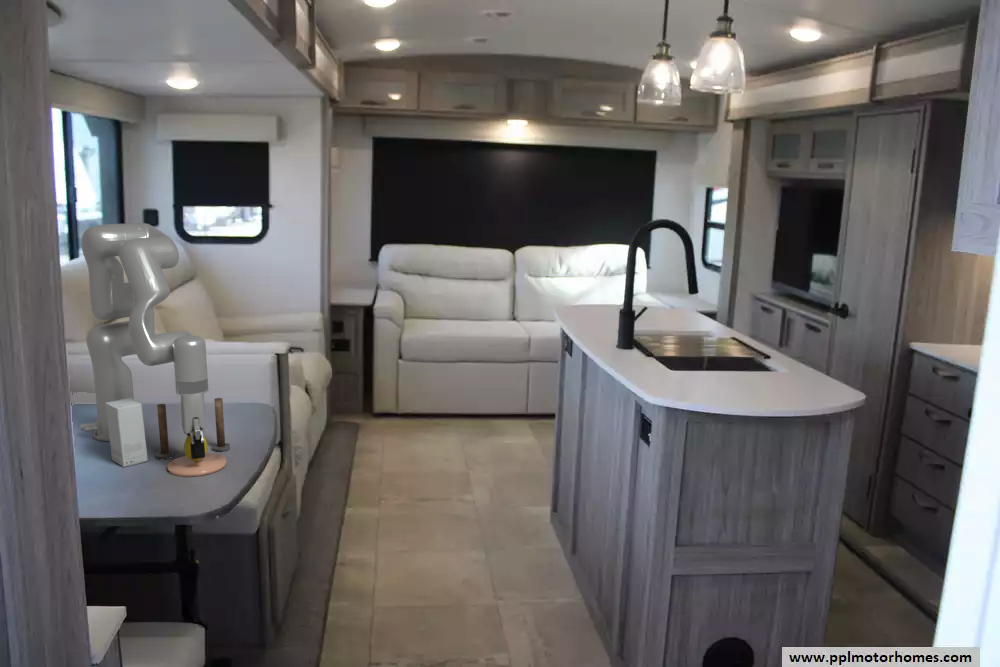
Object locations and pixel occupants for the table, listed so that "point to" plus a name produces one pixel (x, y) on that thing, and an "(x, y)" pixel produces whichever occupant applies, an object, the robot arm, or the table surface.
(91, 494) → the table surface
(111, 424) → the skincare box
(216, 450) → the right dowel
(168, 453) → the left dowel
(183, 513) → the table surface
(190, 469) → the plate
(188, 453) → the lemon
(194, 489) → the table surface
